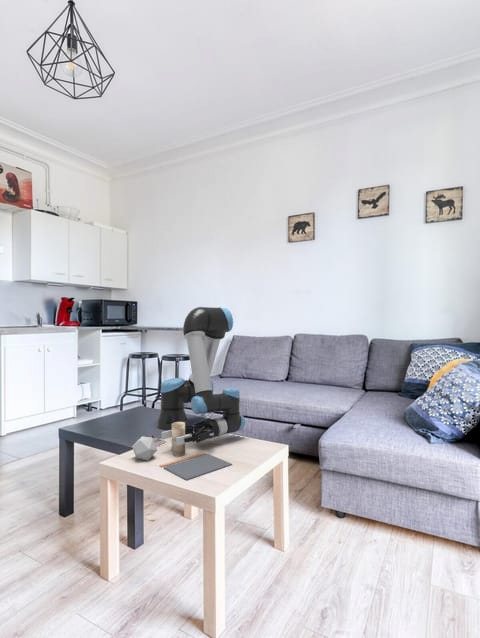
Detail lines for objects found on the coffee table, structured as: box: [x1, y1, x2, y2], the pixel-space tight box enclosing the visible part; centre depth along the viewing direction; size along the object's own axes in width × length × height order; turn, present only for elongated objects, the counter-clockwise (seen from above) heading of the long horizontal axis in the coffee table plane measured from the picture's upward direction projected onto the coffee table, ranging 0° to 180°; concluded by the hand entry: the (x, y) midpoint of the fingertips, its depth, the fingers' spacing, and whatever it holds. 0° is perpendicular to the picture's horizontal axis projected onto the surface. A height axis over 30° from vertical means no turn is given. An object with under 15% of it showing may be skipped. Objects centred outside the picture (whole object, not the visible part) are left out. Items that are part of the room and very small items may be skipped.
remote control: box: [150, 435, 168, 448], centre depth 158 cm, size 7×16×3 cm, turn 55°
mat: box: [163, 453, 233, 482], centre depth 132 cm, size 20×14×1 cm
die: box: [132, 436, 158, 461], centre depth 140 cm, size 8×9×10 cm
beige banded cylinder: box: [171, 422, 186, 457], centre depth 144 cm, size 5×5×12 cm
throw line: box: [159, 452, 207, 468], centre depth 138 cm, size 20×2×1 cm, turn 133°
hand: (169, 438), depth 141 cm, fingers open, 9 cm apart
